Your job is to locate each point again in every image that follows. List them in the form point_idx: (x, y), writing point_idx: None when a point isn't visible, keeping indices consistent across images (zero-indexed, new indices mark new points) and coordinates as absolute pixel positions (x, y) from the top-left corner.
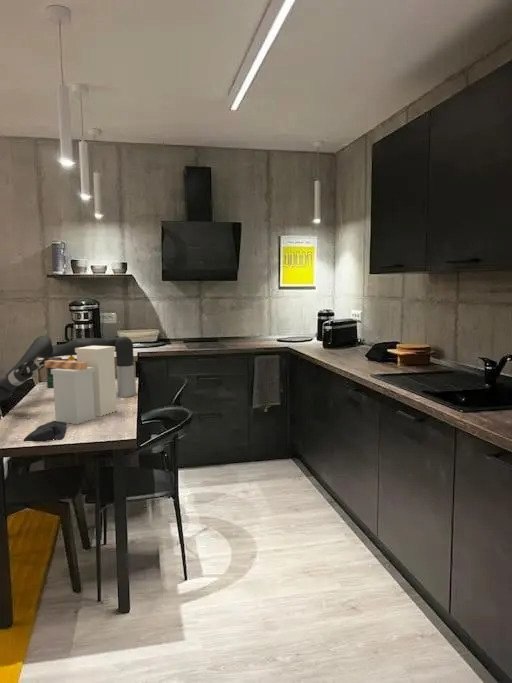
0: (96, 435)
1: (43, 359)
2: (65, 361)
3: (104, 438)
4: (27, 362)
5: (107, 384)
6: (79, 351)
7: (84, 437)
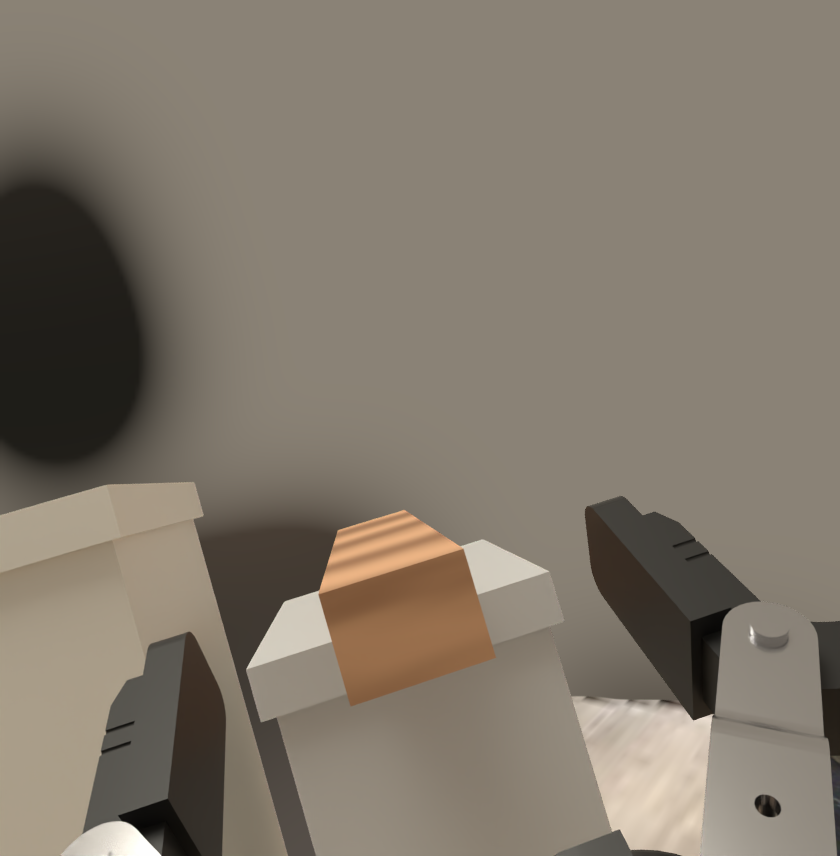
0: (623, 752)
1: (181, 730)
2: (374, 537)
3: (618, 720)
4: (713, 591)
5: None
6: (141, 517)
7: (679, 749)
